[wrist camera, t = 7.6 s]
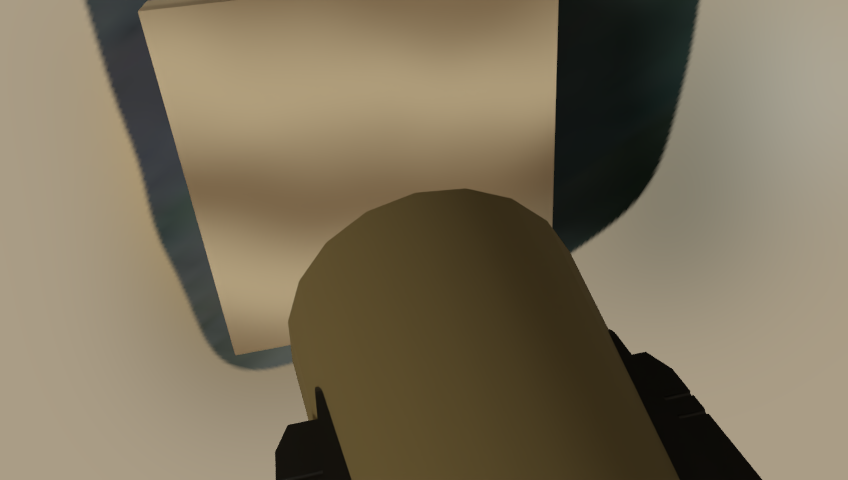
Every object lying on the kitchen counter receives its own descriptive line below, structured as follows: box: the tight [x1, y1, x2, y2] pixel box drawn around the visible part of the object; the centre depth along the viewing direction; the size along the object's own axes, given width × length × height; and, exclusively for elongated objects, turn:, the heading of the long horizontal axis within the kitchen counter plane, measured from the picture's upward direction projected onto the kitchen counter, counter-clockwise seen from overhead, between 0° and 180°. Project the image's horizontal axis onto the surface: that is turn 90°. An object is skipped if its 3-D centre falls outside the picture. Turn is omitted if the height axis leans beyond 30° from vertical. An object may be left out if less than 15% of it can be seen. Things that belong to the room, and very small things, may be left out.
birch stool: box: [138, 0, 559, 355], centre depth 23 cm, size 11×11×8 cm
